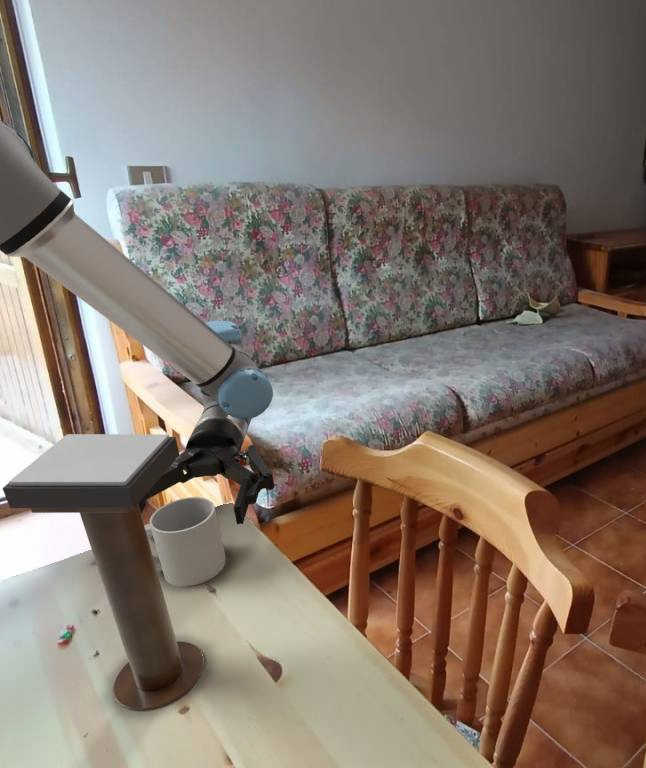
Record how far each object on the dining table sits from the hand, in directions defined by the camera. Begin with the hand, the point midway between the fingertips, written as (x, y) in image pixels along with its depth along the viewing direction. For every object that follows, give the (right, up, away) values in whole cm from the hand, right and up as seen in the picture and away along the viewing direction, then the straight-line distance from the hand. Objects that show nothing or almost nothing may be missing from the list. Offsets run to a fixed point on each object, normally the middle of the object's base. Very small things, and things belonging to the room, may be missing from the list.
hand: (182, 521), depth 81 cm
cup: (0, -7, 0) cm, 7 cm away
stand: (+6, -13, -15) cm, 21 cm away
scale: (+6, +9, -25) cm, 27 cm away
